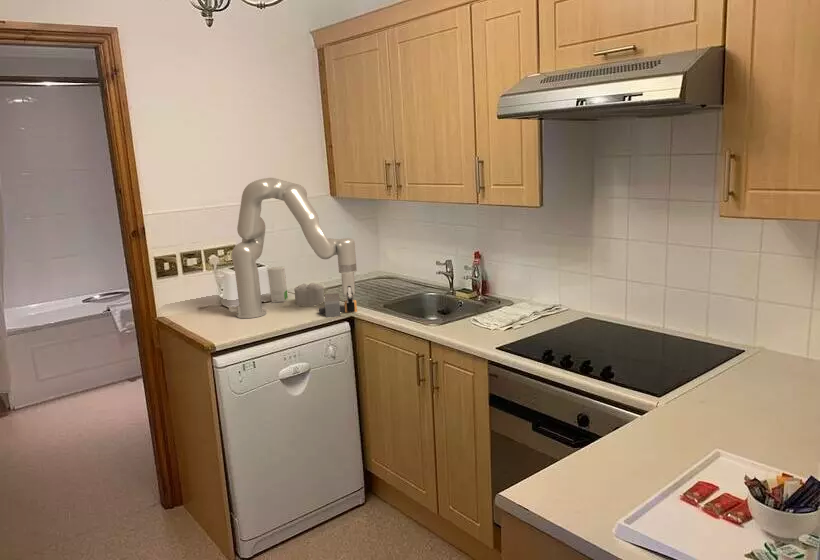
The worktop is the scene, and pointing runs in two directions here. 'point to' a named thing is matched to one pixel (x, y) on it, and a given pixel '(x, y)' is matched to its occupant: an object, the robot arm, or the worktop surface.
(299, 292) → the lumpy-topped squat cylinder
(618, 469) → the worktop surface
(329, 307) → the block
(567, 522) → the worktop surface
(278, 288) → the skincare box
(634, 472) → the worktop surface
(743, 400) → the worktop surface
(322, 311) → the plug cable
